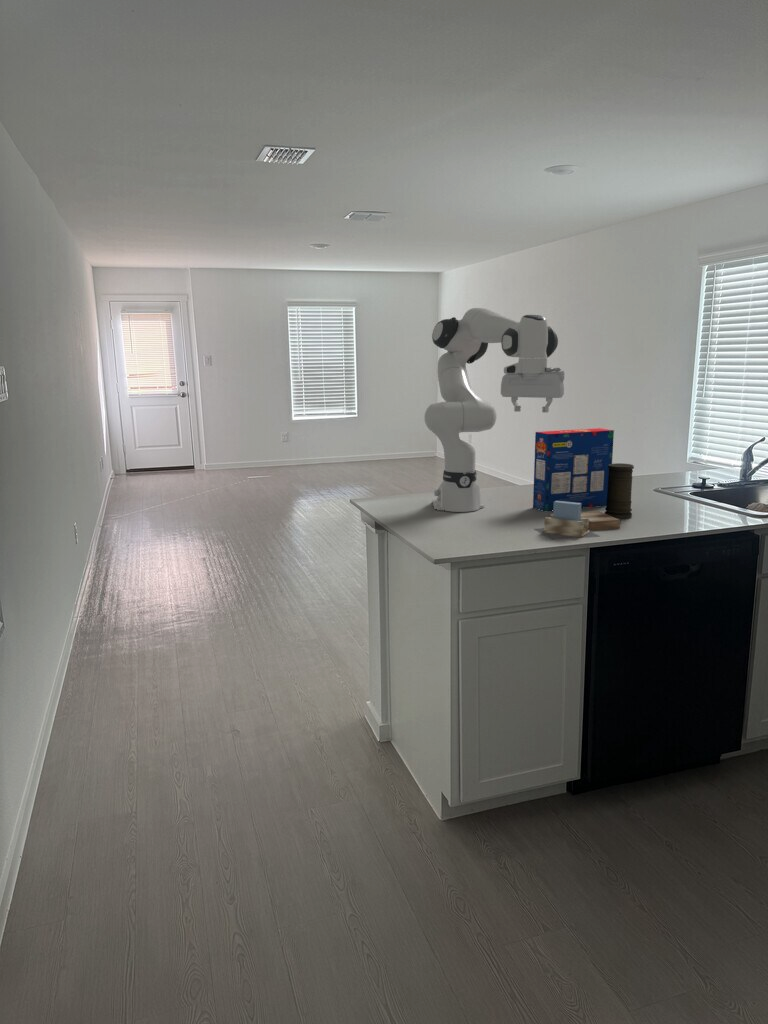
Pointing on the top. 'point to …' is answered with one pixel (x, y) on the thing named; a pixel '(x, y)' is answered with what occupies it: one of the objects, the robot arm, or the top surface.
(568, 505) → the light blue square slab
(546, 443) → the blue cardboard box
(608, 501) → the container
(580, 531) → the mottled beige block
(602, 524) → the brown flat block
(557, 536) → the mat
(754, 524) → the top surface
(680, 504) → the top surface
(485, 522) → the top surface
